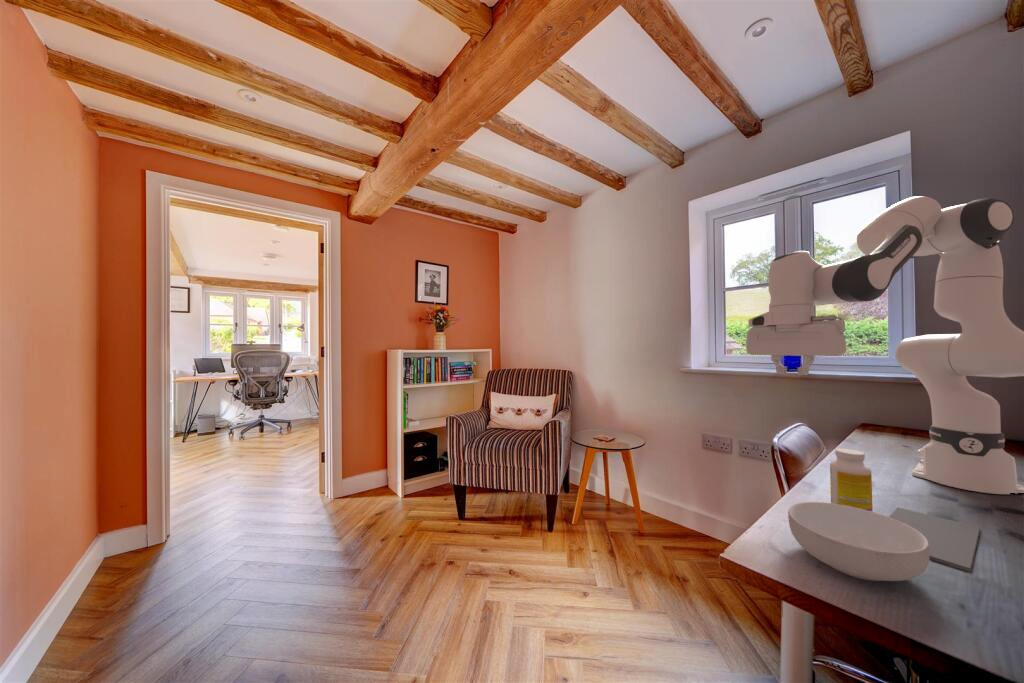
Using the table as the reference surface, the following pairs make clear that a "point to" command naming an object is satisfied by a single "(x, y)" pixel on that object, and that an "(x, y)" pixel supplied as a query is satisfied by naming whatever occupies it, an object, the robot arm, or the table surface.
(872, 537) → the cereal bowl
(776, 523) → the table surface
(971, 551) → the mat
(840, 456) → the supplement bottle
